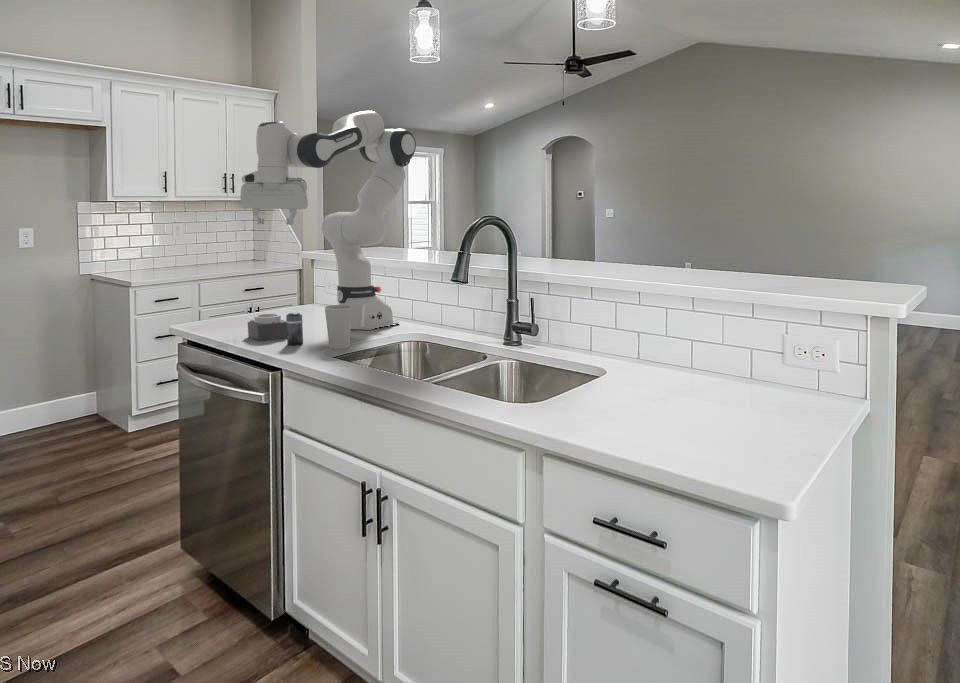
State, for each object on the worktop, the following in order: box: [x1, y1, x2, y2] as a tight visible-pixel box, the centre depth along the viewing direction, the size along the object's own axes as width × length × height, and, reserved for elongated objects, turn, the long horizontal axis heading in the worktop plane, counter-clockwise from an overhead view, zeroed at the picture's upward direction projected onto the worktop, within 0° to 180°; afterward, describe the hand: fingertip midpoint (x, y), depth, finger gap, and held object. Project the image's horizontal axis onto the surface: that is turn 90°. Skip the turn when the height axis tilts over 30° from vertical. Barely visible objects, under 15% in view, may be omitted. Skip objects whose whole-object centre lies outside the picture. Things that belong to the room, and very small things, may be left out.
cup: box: [324, 304, 352, 350], centre depth 207 cm, size 8×8×12 cm
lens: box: [285, 312, 304, 347], centre depth 210 cm, size 5×5×9 cm
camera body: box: [247, 313, 287, 342], centre depth 220 cm, size 10×9×7 cm
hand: (275, 224), depth 210 cm, fingers open, 8 cm apart
